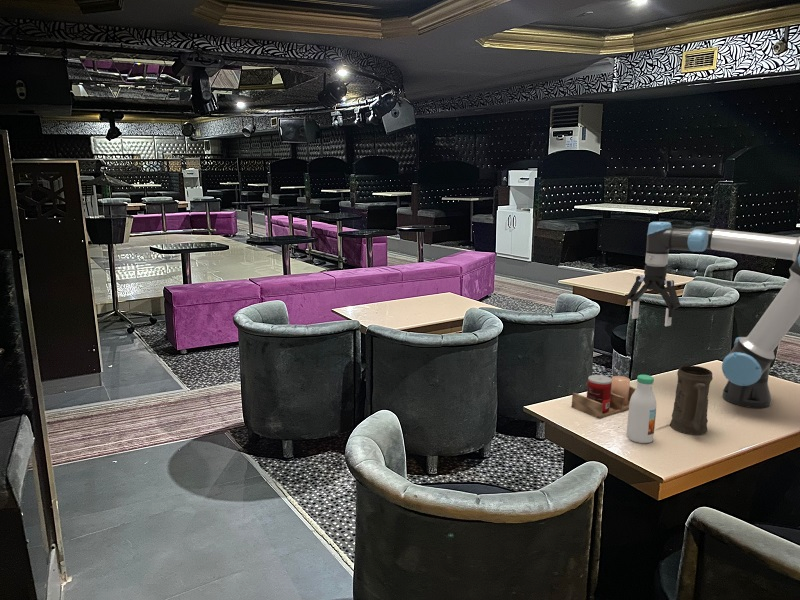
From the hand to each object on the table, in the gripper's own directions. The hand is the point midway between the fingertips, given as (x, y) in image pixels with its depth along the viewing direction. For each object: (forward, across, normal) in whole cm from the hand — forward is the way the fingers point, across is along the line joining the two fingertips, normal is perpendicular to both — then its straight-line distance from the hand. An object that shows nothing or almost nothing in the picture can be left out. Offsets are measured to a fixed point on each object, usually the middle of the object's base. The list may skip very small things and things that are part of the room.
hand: (650, 322), depth 218 cm
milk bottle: (+27, +26, -39) cm, 54 cm away
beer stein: (+27, +31, -20) cm, 46 cm away
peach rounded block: (+25, +5, -22) cm, 34 cm away
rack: (+26, +5, -28) cm, 38 cm away
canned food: (+26, +5, -33) cm, 42 cm away
